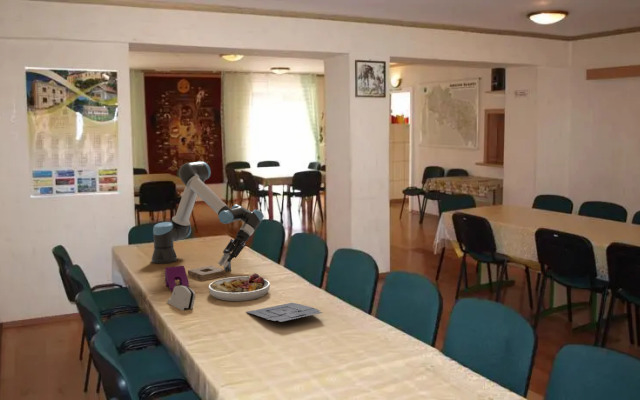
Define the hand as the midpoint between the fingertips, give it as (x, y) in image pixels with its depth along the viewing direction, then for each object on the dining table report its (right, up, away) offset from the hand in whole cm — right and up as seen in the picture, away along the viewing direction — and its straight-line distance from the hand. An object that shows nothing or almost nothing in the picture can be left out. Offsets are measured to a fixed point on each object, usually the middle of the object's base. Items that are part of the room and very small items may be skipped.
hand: (221, 265), depth 332 cm
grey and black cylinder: (+3, -3, +3) cm, 5 cm away
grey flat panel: (+41, -14, -77) cm, 89 cm away
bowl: (+16, -10, -43) cm, 47 cm away
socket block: (-7, -5, -7) cm, 11 cm away
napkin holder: (-8, -12, -60) cm, 62 cm away
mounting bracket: (-17, -9, -32) cm, 37 cm away
